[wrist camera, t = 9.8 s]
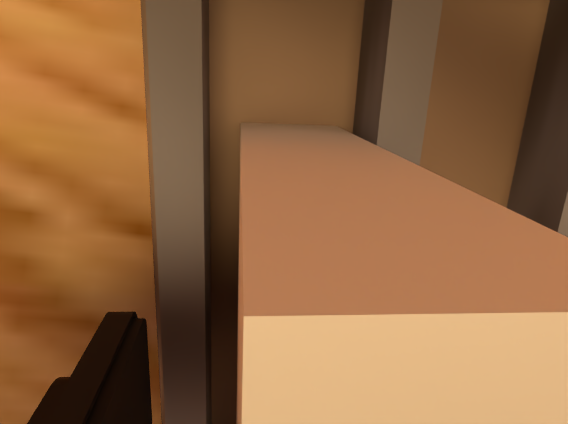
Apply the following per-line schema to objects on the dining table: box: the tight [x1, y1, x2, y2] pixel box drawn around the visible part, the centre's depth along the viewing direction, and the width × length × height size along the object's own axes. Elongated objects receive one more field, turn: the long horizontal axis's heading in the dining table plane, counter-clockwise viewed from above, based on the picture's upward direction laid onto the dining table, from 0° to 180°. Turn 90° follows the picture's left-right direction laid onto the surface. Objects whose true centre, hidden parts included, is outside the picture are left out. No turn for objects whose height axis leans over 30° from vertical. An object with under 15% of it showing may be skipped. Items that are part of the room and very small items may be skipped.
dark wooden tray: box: [141, 0, 568, 424], centre depth 12 cm, size 19×11×3 cm, turn 177°
